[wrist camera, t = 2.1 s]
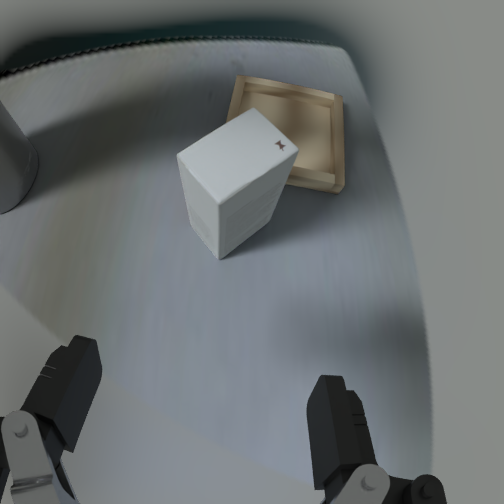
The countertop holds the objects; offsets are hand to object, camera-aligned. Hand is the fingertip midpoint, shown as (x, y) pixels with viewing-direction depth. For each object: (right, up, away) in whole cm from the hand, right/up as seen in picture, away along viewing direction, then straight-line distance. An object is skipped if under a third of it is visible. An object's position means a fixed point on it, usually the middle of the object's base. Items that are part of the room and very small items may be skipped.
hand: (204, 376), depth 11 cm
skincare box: (0, +7, +19) cm, 20 cm away
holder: (+5, +17, +22) cm, 28 cm away
